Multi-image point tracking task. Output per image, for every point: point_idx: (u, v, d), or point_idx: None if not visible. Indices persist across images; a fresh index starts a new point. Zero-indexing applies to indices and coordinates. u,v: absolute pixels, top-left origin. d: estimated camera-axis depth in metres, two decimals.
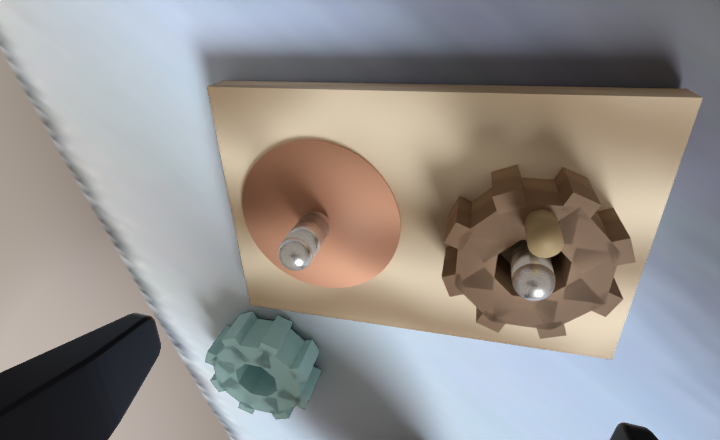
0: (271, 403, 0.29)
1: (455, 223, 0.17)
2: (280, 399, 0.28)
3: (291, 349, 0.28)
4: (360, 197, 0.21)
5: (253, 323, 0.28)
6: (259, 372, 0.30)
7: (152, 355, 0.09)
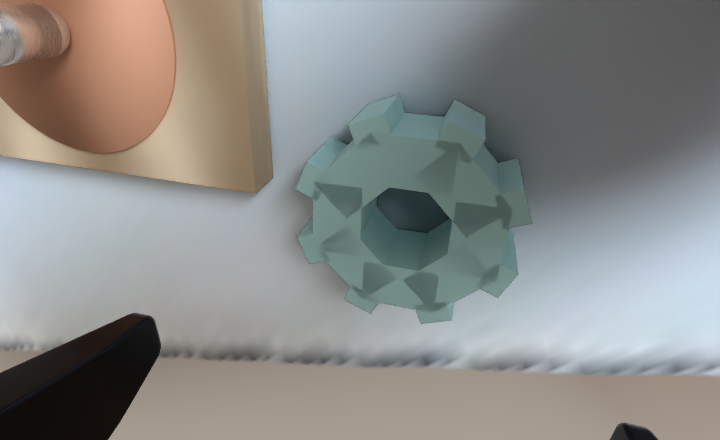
0: (473, 218, 0.13)
1: None
2: (456, 192, 0.12)
3: (353, 143, 0.14)
4: None
5: None
6: (444, 232, 0.15)
7: (152, 355, 0.09)
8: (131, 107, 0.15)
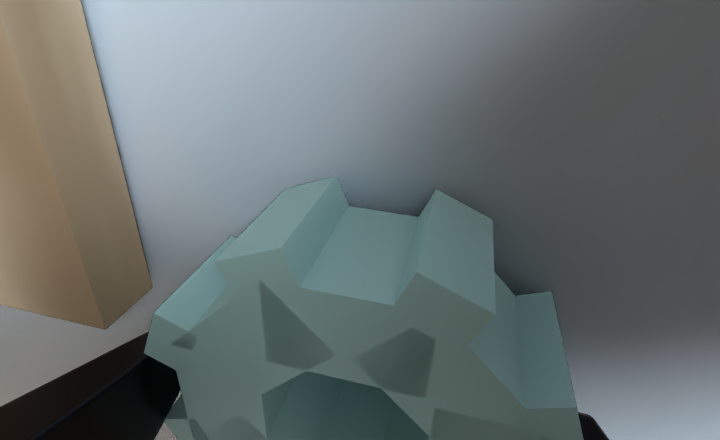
0: (470, 437, 0.06)
1: None
2: (436, 395, 0.06)
3: None
4: None
5: None
6: None
7: None
8: None
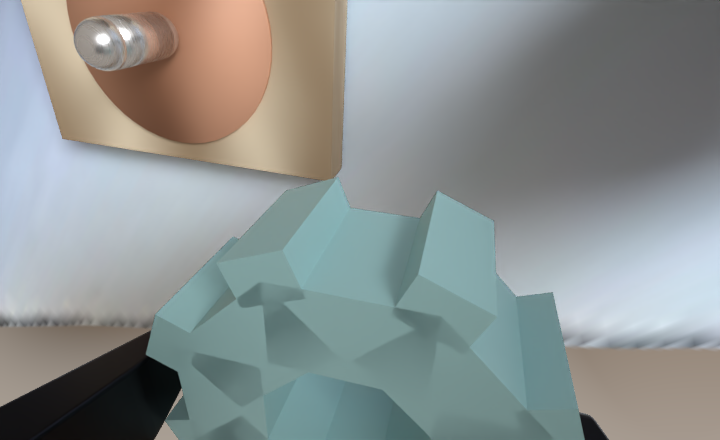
0: (472, 439, 0.06)
1: None
2: (437, 396, 0.06)
3: None
4: None
5: None
6: None
7: None
8: (225, 103, 0.17)
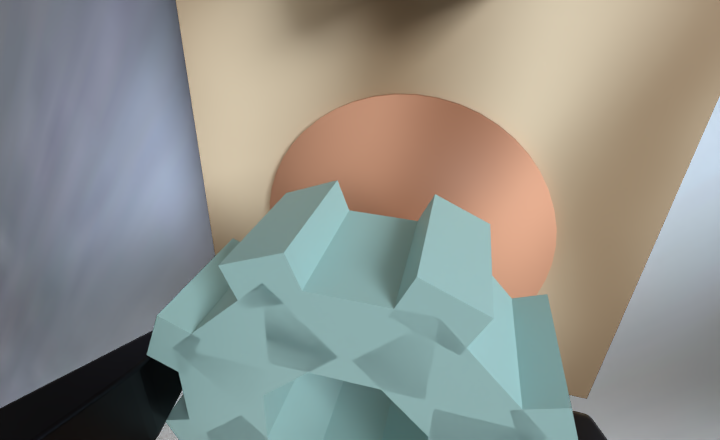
0: (468, 437, 0.07)
1: None
2: (435, 396, 0.06)
3: None
4: (354, 161, 0.12)
5: None
6: None
7: None
8: None
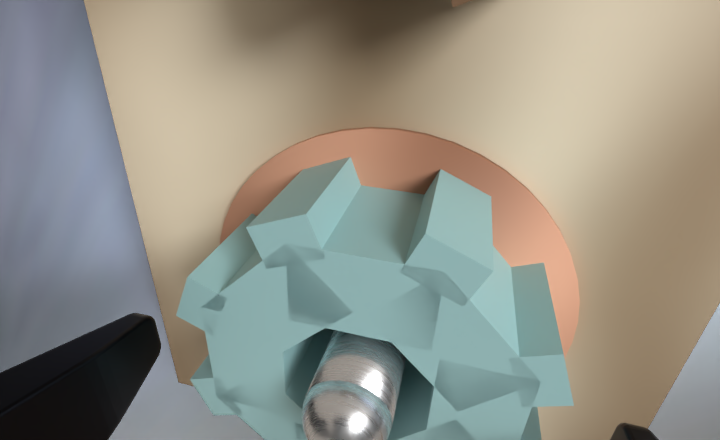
0: (470, 386, 0.07)
1: None
2: (440, 347, 0.07)
3: None
4: None
5: None
6: None
7: (152, 355, 0.09)
8: None
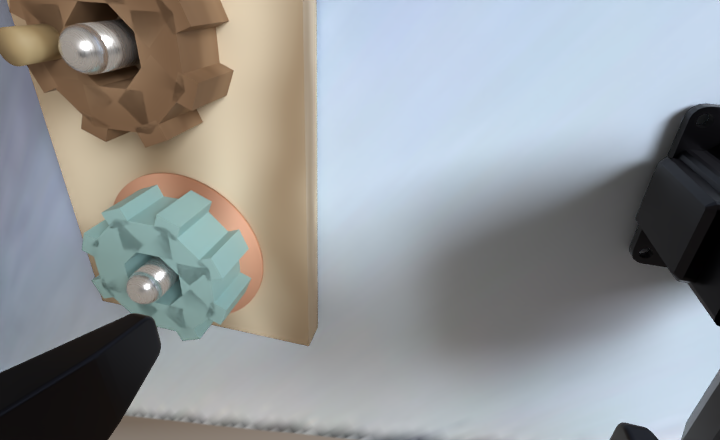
0: (189, 273, 0.19)
1: (85, 128, 0.17)
2: (174, 257, 0.19)
3: None
4: None
5: None
6: None
7: (152, 355, 0.09)
8: None
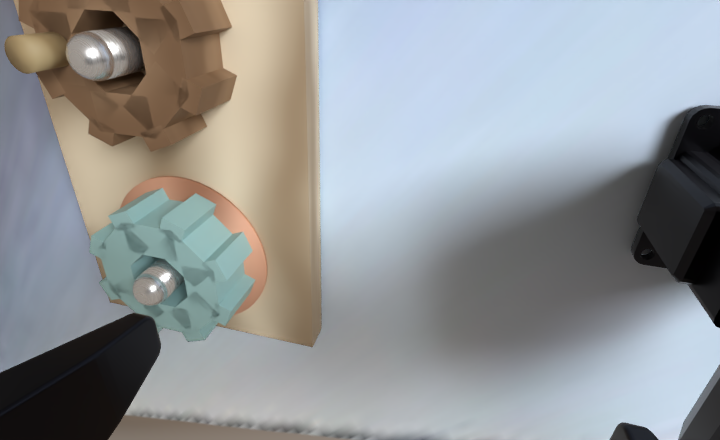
0: (194, 275, 0.19)
1: (92, 133, 0.17)
2: (180, 259, 0.19)
3: None
4: None
5: None
6: None
7: (152, 355, 0.09)
8: None
